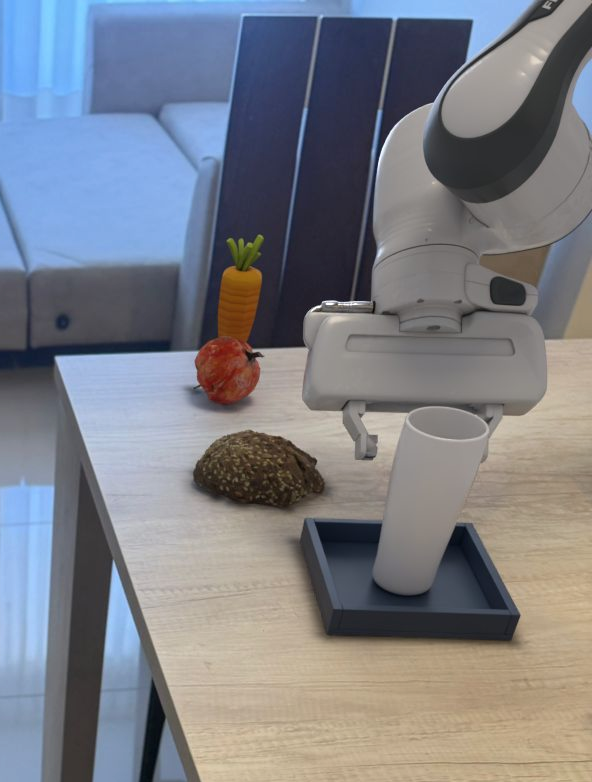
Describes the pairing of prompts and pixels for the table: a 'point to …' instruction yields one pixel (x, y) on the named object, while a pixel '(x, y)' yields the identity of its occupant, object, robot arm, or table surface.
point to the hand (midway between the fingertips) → (420, 459)
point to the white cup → (426, 495)
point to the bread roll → (258, 470)
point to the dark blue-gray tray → (400, 612)
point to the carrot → (239, 291)
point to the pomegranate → (227, 369)
